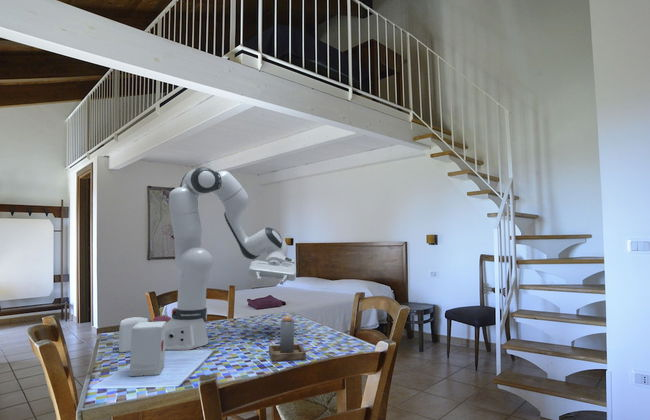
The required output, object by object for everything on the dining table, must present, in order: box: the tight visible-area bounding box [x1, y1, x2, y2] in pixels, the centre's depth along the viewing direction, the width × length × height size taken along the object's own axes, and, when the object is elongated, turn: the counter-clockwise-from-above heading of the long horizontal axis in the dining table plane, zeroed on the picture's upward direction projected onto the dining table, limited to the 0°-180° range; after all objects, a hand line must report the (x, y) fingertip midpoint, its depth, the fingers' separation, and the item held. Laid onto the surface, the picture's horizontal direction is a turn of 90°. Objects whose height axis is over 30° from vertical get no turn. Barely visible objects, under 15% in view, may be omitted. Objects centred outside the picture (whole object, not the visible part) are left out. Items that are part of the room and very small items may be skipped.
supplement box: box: [129, 321, 166, 377], centre depth 129 cm, size 9×9×15 cm
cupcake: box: [151, 305, 172, 323], centre depth 183 cm, size 9×8×12 cm
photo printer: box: [118, 316, 149, 353], centre depth 152 cm, size 10×4×12 cm, turn 112°
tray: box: [268, 343, 307, 363], centre depth 147 cm, size 12×12×2 cm
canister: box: [279, 315, 295, 353], centre depth 147 cm, size 5×5×14 cm
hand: (270, 281), depth 167 cm, fingers open, 8 cm apart
